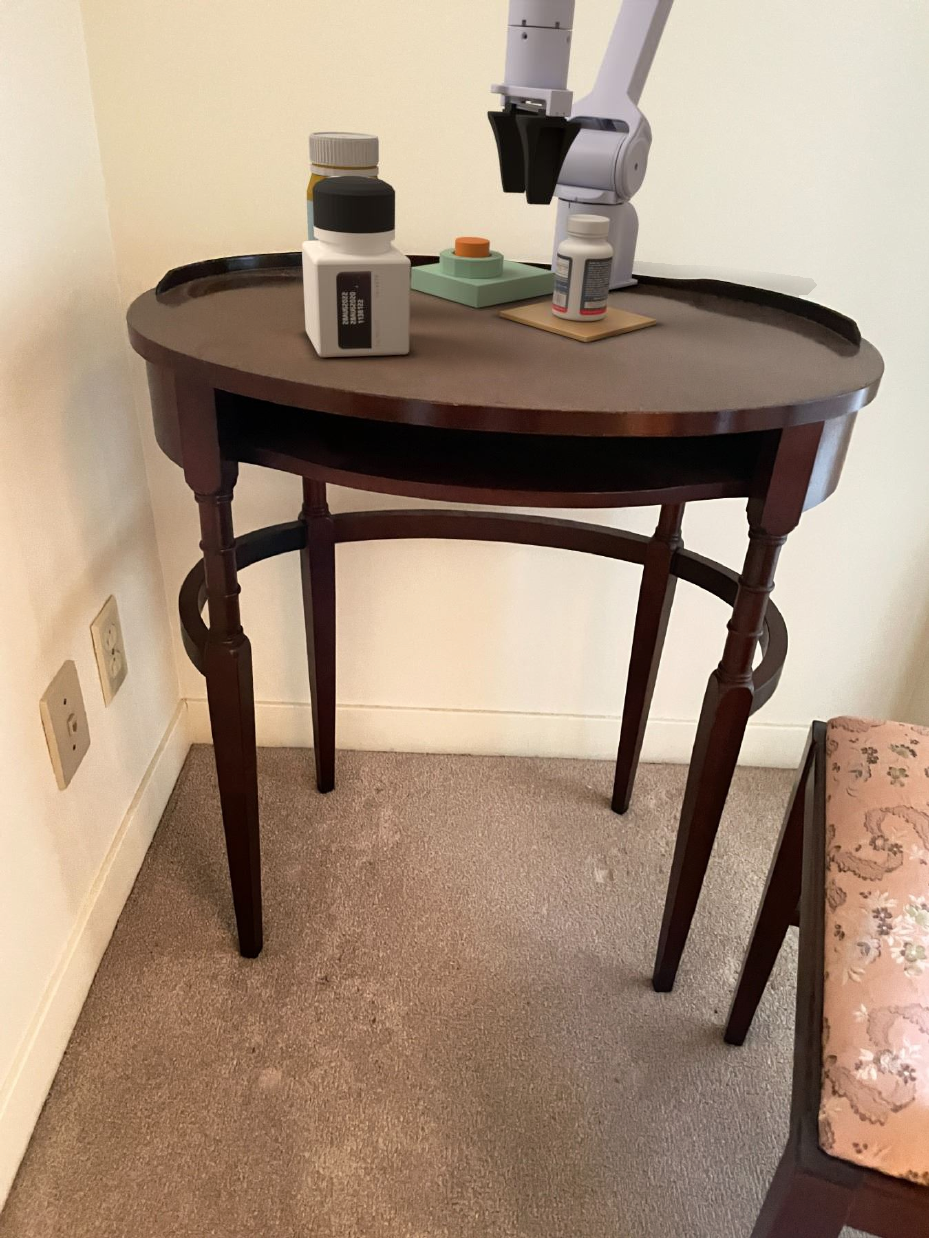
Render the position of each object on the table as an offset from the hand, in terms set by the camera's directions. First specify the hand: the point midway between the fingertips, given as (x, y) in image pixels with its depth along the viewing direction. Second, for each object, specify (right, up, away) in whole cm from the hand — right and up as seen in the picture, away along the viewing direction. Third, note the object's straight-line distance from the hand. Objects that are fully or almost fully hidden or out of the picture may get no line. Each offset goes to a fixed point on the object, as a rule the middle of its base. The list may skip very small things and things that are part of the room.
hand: (525, 198), depth 86 cm
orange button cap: (-5, -3, +8) cm, 10 cm away
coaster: (+5, -11, +2) cm, 12 cm away
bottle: (-17, -10, +2) cm, 20 cm away
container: (-15, -17, -8) cm, 24 cm away
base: (-4, -5, +11) cm, 13 cm away
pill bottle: (+5, -11, +2) cm, 12 cm away
